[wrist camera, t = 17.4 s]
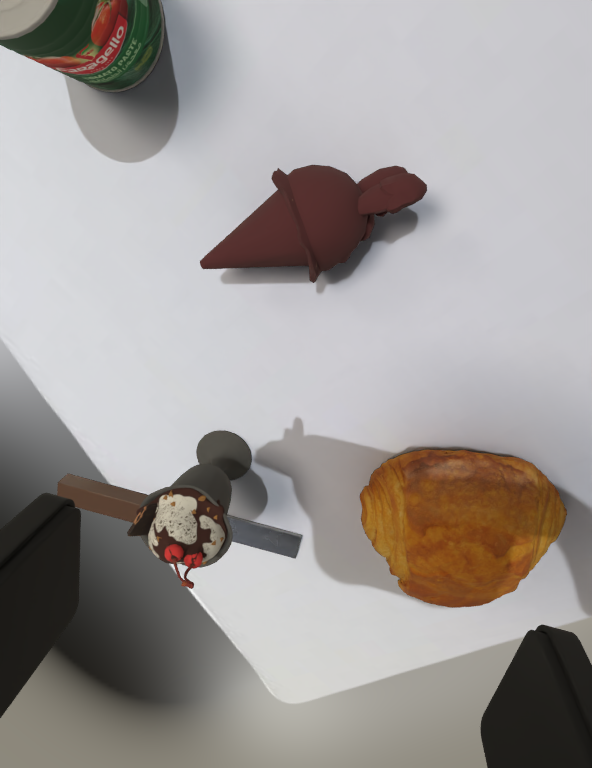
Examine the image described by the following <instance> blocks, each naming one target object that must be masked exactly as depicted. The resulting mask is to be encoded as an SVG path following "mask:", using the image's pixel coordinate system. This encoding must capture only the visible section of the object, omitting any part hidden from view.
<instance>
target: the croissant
mask: <svg viewBox="0 0 592 768" xmlns="http://www.w3.org/2000/svg"><path fill="white" fill-rule="evenodd" d="M360 500H361V504H362V516H361V521H362V525H363V528H364V530H365V533H366V534H367V536H368V538H369V539H370V540H371V541H372V546H373V547H374V548H375V550H376V551H377V552H378V553H379V554H381V555H382V556H383V557H386V561H387V562H388V564H389V566H390V573H391V574H392V575H395V576H397V577H399V578H400V580H398V585H399V587H400V588H401V589H402V590H403V592H405V593H406V594H407V595H409V596H412V597H415V598H417V599H420V600H422V601H424V602H427V603H431V604H436V605H441V606H446V607H471V606H480V605H483V604H486V603H490V602H491V601H493V600H495V599H497V598H499V597H501V596H502V595H504V594H507V593H510V592H513V591H515V590H516V589H517V586H518V584H519V582H520V580H521V579H524V578H526V576H527V575H528V573H529V571H531V570H532V569H533V568H534V566H535V565H536V564H537V563H538V562H539V560H540V559H541V557H542V556H543V555H544V554H545V553H546V552H547V550H548V547H549V546H550V544H551V543H552V542H554V541H555V540H556V539H557V537H558V536H559V534H560V532H561V530H562V527H563V525H564V522H565V517H566V515H567V510H566V509H565V507H564V504H563V502H562V501H561V499H560V496H559V492H558V491H557V489H556V488H555V486H554V485H553V484H552V483H551V482H549V481H548V479H547V477H546V476H545V475H544V474H542V473H541V471H540V470H538V469H537V468H536V467H535V466H534V465H533V464H532V463H529V462H527V461H525V460H523V459H520V458H516V457H500V456H497V455H493V454H485V453H476V452H470V451H467V450H459V451H451V450H447V451H442V450H420V451H413V452H409V453H406V454H402V455H399V456H397V457H396V458H394V459H389V460H388V461H387V462H386V463H382V465H381V467H380V468H378V469H376V470H375V471H374V472H373V474H372V475H371V479H370V482H369V485H368V486H365V487H364V489H363V490H362V492H361V494H360Z"/></svg>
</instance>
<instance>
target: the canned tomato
mask: <svg viewBox="0 0 592 768" xmlns="http://www.w3.org/2000/svg"><path fill="white" fill-rule="evenodd" d="M163 40H164V15H163V8H162V4H161V1H160V0H0V45H2V46H4V47H6V48H7V49H10V50H13V51H15V52H17V53H18V54H21V55H24V56H26V57H27V58H30V59H32V60H35V61H36V62H38V63H41V64H43V65H45V66H47V67H50V68H52V69H54V70H56V71H59V72H61V73H62V74H65V75H67V76H69V77H71V78H74V79H76V80H78V81H81V82H83V83H85V84H87V85H89V86H90V87H92V88H95V89H98V90H101V91H106V92H120V91H126V90H128V89H131V88H133V87H135V86H137V85H138V84H139V83H141V82H142V81H144V80H145V78H146V77H147V76H148V75H149V74H150V73H151V72H152V70H153V68H154V67H155V65H156V63H157V61H158V59H159V56H160V53H161V50H162V46H163Z"/></svg>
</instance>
